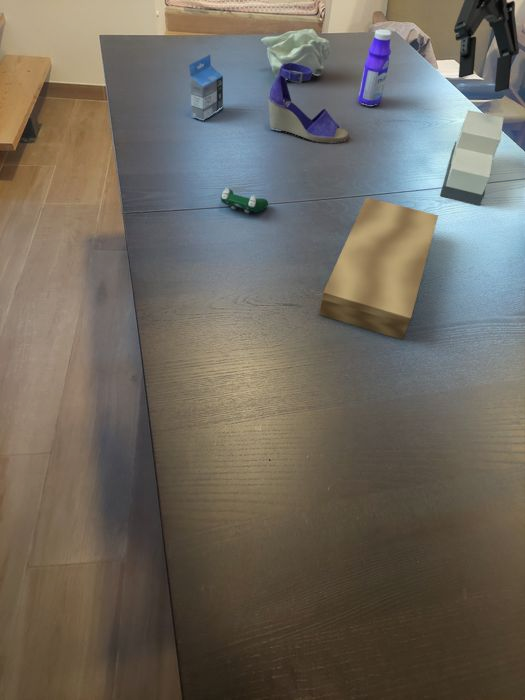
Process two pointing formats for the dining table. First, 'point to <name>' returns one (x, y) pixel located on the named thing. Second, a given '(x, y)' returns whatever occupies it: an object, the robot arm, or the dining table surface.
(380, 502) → the dining table surface
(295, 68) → the sandal
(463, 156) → the white two-tier block
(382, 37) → the bottle
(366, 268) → the wooden base slab
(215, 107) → the ink cartridge box
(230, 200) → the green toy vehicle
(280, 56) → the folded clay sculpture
